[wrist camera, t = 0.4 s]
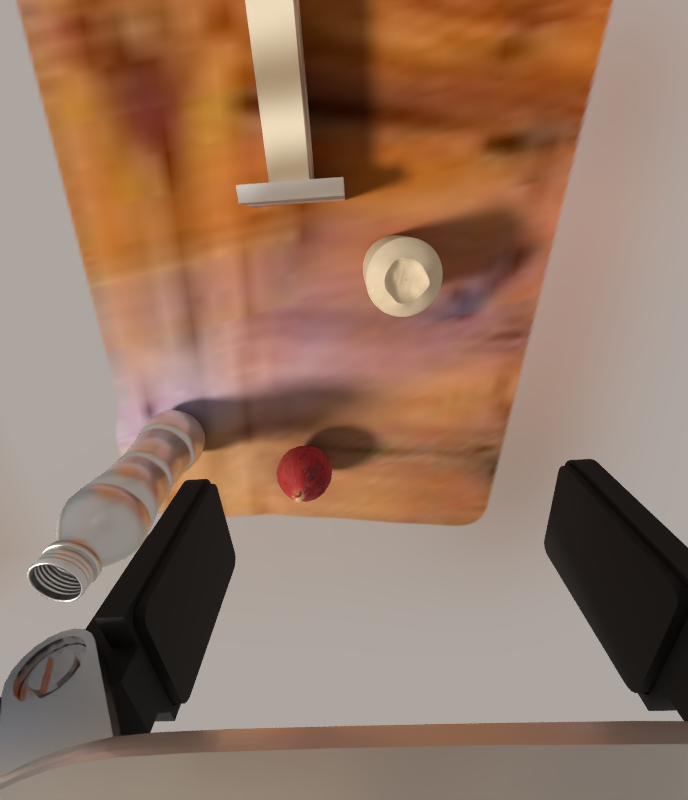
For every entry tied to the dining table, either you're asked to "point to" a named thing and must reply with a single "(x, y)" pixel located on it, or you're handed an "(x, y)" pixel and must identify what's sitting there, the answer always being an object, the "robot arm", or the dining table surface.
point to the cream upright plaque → (283, 110)
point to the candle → (402, 275)
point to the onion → (304, 473)
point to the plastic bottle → (117, 507)
